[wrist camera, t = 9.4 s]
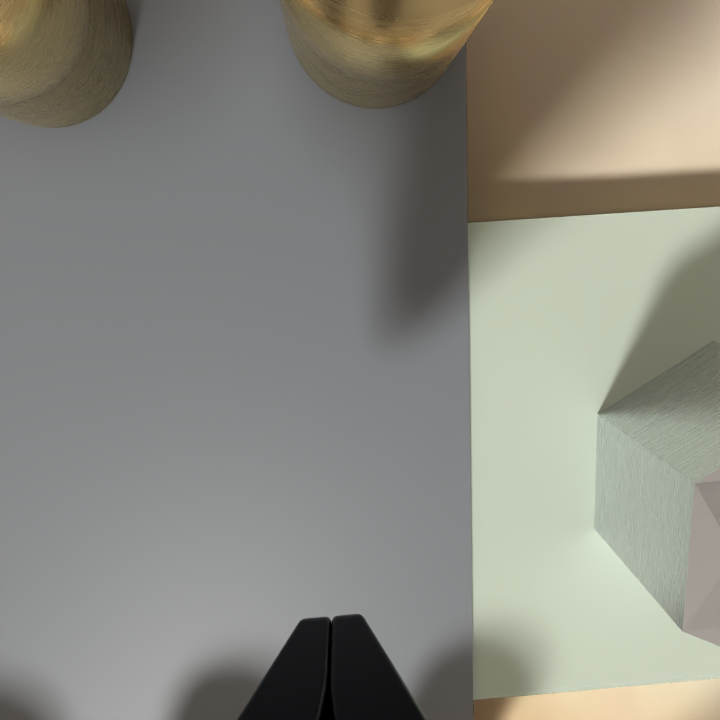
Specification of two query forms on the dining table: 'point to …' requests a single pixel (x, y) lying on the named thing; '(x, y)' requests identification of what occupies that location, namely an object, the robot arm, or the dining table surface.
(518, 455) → the mat
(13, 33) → the spacers
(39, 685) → the board
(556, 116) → the dining table surface
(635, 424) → the white faceted block
